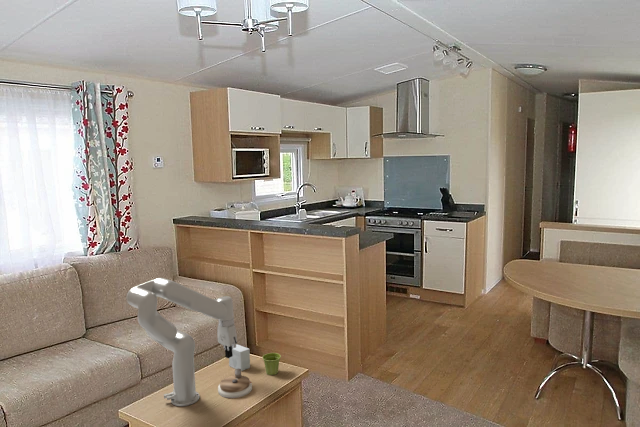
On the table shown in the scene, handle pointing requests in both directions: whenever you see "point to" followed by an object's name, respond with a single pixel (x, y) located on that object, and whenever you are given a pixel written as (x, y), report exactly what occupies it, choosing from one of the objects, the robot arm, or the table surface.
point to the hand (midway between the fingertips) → (229, 356)
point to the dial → (235, 382)
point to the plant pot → (271, 363)
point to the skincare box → (240, 358)
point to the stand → (235, 394)
